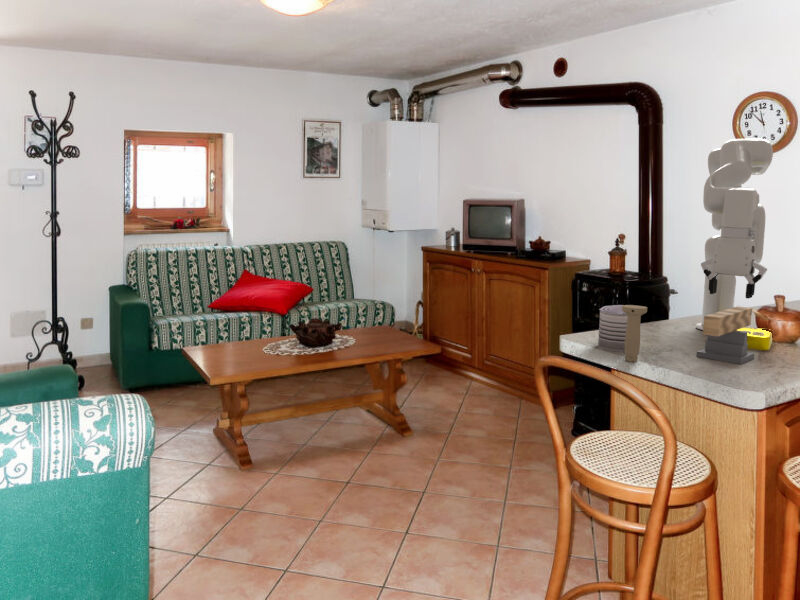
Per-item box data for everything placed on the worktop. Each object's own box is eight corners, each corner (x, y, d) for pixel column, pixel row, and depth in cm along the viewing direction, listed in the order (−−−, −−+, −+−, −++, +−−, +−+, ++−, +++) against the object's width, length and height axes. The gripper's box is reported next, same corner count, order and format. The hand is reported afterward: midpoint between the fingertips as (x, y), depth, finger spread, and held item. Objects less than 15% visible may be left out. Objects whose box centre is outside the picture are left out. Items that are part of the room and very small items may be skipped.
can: (645, 351, 207) (648, 310, 205) (609, 352, 205) (611, 311, 203) (625, 342, 218) (627, 304, 216) (590, 343, 216) (593, 304, 214)
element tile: (772, 343, 223) (773, 328, 222) (768, 352, 210) (770, 336, 209) (720, 337, 230) (721, 322, 230) (713, 345, 218) (715, 330, 217)
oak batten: (736, 323, 209) (737, 306, 208) (750, 325, 206) (752, 308, 206) (702, 334, 192) (704, 315, 192) (717, 336, 190) (719, 317, 189)
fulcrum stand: (710, 351, 208) (712, 324, 207) (754, 358, 200) (756, 330, 199) (696, 356, 201) (698, 328, 200) (740, 364, 193) (743, 335, 192)
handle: (641, 364, 191) (645, 309, 189) (617, 361, 194) (620, 306, 192) (645, 360, 195) (648, 306, 193) (621, 357, 198) (624, 304, 196)
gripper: (774, 235, 192) (768, 298, 195) (709, 231, 204) (704, 290, 207) (764, 236, 187) (758, 301, 189) (698, 232, 199) (693, 293, 201)
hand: (730, 295), depth 198 cm, fingers open, 9 cm apart
